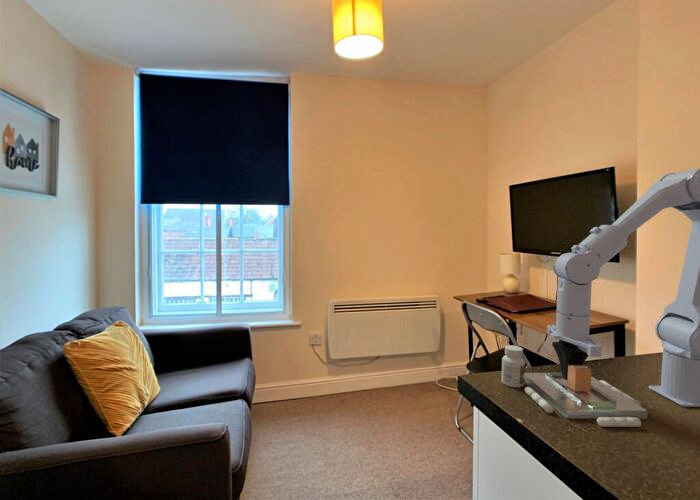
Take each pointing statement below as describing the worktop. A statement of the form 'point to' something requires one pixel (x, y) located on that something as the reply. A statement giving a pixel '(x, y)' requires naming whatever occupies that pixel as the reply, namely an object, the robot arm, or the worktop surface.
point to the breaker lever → (579, 378)
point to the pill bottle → (513, 366)
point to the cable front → (539, 400)
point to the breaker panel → (583, 398)
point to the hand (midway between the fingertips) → (569, 379)
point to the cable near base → (621, 392)
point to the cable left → (618, 422)
